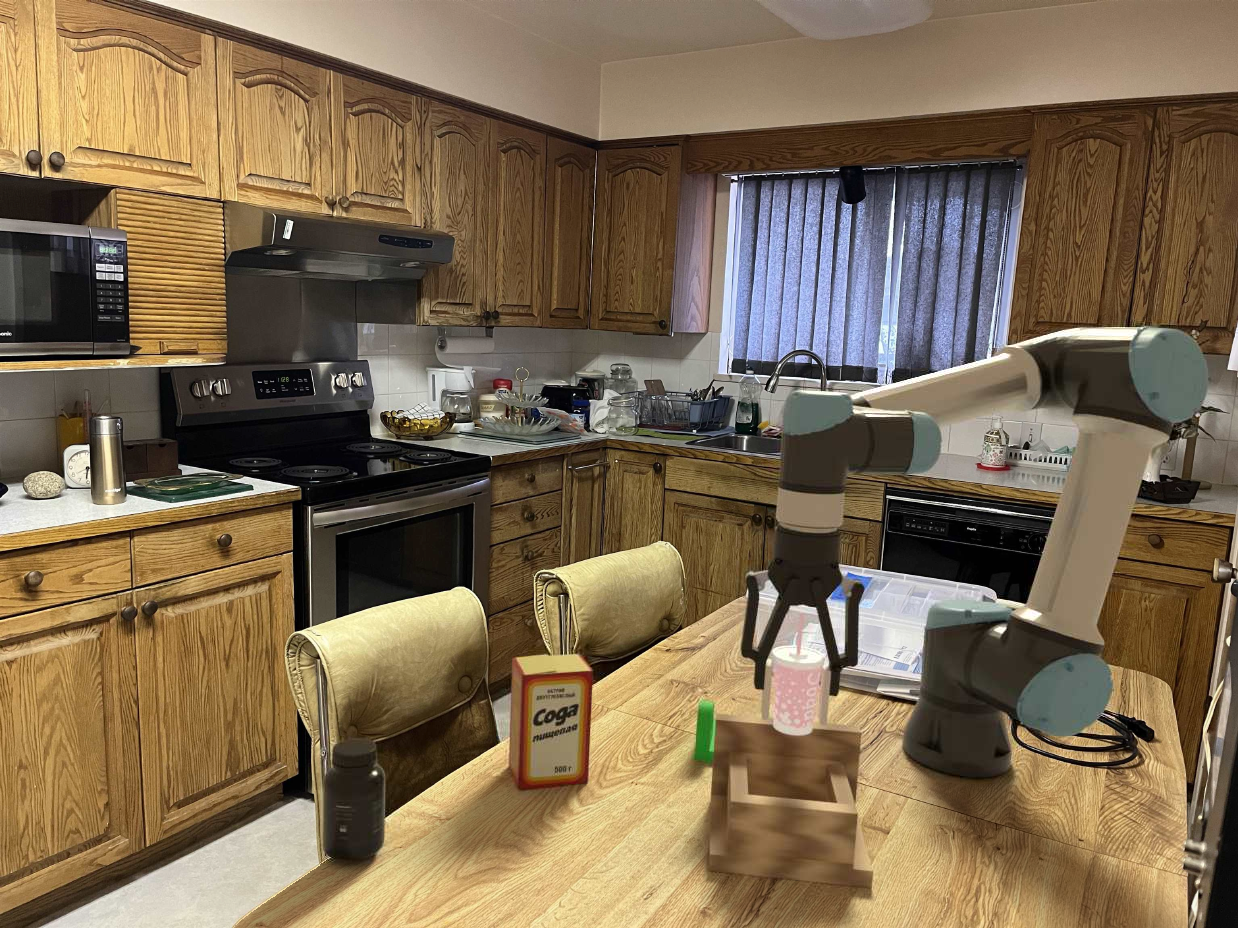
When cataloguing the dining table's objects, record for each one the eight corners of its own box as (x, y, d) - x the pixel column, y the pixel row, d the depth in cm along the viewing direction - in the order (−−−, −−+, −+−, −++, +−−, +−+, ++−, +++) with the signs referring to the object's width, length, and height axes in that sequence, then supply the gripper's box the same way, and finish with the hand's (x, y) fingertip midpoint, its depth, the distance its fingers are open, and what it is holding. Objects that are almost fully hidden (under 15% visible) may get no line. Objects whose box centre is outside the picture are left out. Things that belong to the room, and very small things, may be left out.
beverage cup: (785, 741, 105) (794, 622, 103) (756, 719, 110) (764, 606, 108) (829, 734, 107) (839, 618, 105) (799, 714, 113) (808, 603, 111)
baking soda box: (575, 760, 129) (580, 651, 127) (588, 782, 123) (593, 667, 121) (508, 767, 126) (512, 655, 124) (518, 789, 120) (522, 672, 118)
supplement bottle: (309, 855, 103) (309, 754, 101) (344, 826, 109) (345, 730, 108) (363, 868, 101) (364, 764, 99) (395, 837, 107) (397, 739, 106)
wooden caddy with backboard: (851, 815, 118) (859, 725, 116) (871, 887, 102) (880, 785, 100) (710, 801, 119) (716, 713, 118) (708, 870, 104) (715, 769, 102)
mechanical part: (736, 767, 130) (740, 713, 129) (694, 762, 131) (697, 708, 130) (741, 733, 142) (744, 683, 141) (702, 728, 143) (705, 679, 142)
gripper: (887, 525, 108) (870, 712, 111) (725, 514, 110) (712, 698, 113) (899, 538, 101) (880, 738, 104) (725, 526, 103) (712, 723, 106)
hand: (793, 717), depth 109 cm, fingers closed on beverage cup, 6 cm apart
